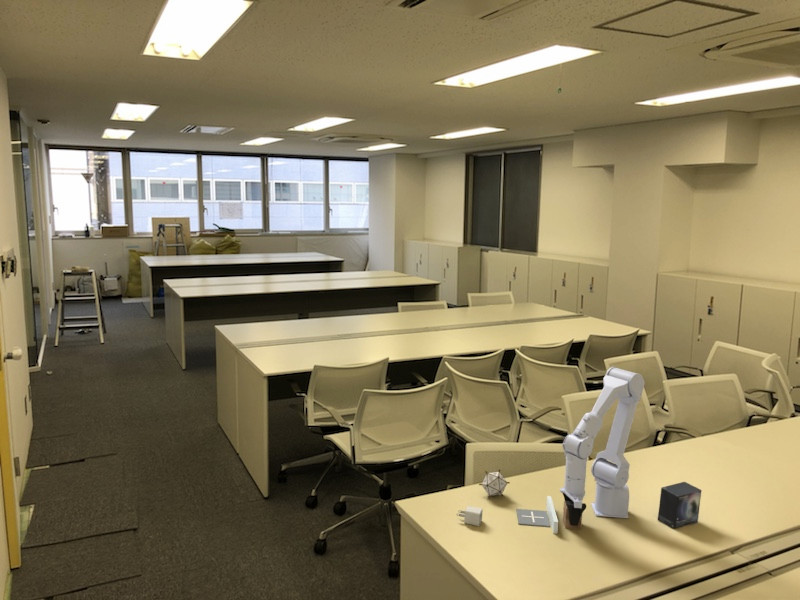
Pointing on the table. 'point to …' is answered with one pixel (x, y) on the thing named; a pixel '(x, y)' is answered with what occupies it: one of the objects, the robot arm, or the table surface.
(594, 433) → the robot arm
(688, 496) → the small box
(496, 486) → the game die
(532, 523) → the pad
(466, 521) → the usb wall charger
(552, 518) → the frosted wall
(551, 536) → the table surface
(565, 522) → the walnut block
